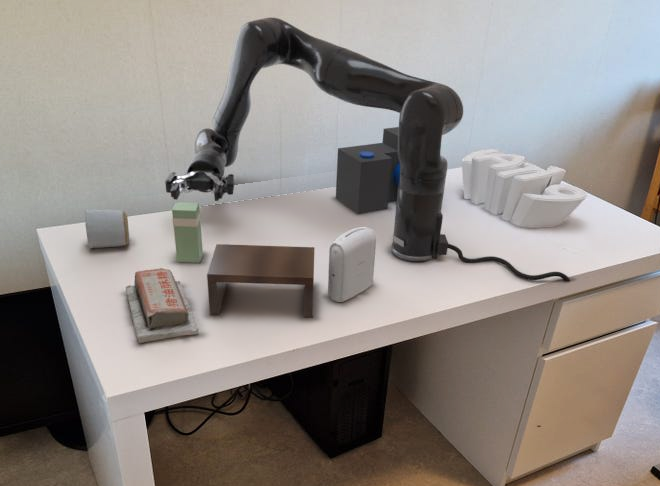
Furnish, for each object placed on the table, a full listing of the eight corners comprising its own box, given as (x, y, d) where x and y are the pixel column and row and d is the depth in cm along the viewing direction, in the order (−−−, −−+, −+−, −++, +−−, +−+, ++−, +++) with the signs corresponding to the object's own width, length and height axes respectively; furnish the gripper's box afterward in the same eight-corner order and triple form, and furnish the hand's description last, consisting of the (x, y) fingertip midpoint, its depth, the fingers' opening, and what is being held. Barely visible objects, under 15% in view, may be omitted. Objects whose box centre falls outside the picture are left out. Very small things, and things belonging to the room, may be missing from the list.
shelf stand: (313, 285, 127) (314, 247, 122) (312, 317, 117) (313, 277, 112) (218, 282, 126) (216, 243, 122) (210, 315, 116) (206, 274, 112)
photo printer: (341, 305, 121) (345, 243, 114) (324, 297, 123) (326, 235, 116) (375, 286, 128) (381, 226, 121) (358, 278, 130) (362, 219, 123)
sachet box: (203, 254, 136) (199, 202, 130) (200, 263, 132) (195, 210, 126) (180, 253, 136) (175, 201, 129) (176, 262, 132) (171, 210, 126)
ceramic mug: (131, 251, 135) (126, 215, 131) (89, 254, 133) (82, 218, 129) (129, 231, 144) (124, 196, 140) (90, 233, 142) (83, 199, 138)
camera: (369, 222, 153) (374, 154, 144) (335, 198, 164) (338, 133, 155) (455, 206, 163) (465, 142, 154) (418, 185, 175) (425, 123, 166)
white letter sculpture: (443, 187, 174) (449, 146, 168) (493, 179, 181) (500, 140, 175) (534, 238, 149) (544, 193, 143) (587, 227, 156) (599, 184, 150)
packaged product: (122, 269, 118) (178, 262, 122) (125, 293, 121) (180, 286, 124) (134, 319, 105) (197, 310, 108) (138, 345, 108) (199, 335, 111)
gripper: (173, 152, 148) (158, 177, 135) (237, 154, 149) (229, 179, 136) (176, 184, 153) (162, 211, 139) (238, 186, 153) (230, 214, 140)
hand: (195, 195), depth 137 cm, fingers open, 8 cm apart
